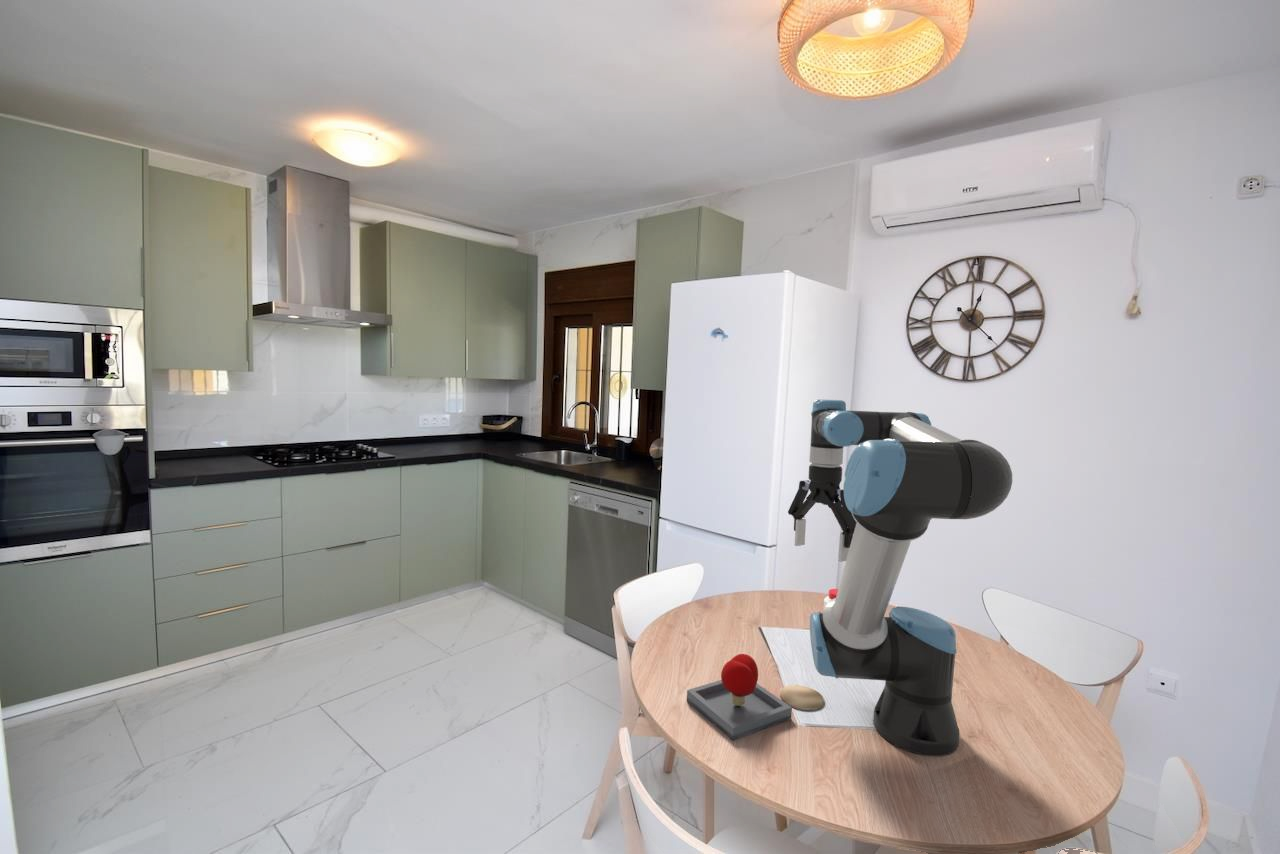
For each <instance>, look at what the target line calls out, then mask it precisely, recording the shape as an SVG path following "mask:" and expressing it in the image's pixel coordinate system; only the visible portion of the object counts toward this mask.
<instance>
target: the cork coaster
mask: <svg viewBox="0 0 1280 854" xmlns="http://www.w3.org/2000/svg"><path fill="white" fill-rule="evenodd" d="M779 697H780V698H779V699H780V700H782V701H783V702H785V703H786V704H788V705H789V706H791V707H792V708H793V709H797V710H801V711H816V710H819V709H821V708H822V707H823V706H824V701H825V700H824V697H823V695H822V694H821V693H820V692H819V691H817V690H816V689H813V688H811V687H809V686H805V685H799V684H792V685H787V686H784V687H782V688H781V689H780V691H779Z"/></svg>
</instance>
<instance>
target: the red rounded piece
mask: <svg viewBox="0 0 1280 854" xmlns="http://www.w3.org/2000/svg"><path fill="white" fill-rule="evenodd" d="M758 669H759V668H758V664H757V663H756V661H755V659H754V658H753V657H752V656H751V655H749V654H746V653H739V654H736V655H735V656H733V657H732V658H731V659H730V660H728V661H727V662H726V663H725V664H724V666H723V667H722V669H721V673H720V674H721V675H720V678H721V679H720V680H722V683H723V685H724V687H725V688H726V689H727V690H728V691H729V692H731V693H732V703H733V704H734V705H736V706H737V707H740V706H742V705H744V703H745V696H747V695H750V694H752V693H753V691H754V689H755V687H756V684H758V680H759V679H758V678H759V670H758Z"/></svg>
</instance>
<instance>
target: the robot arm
mask: <svg viewBox="0 0 1280 854" xmlns="http://www.w3.org/2000/svg"><path fill="white" fill-rule="evenodd" d="M846 404H847V403H846V401H844V400H840V399H816V400H814V401H813V402H812V411H811V412H810V413H811V425H810V426H811V428H810V429H811V430H810V431H811V432H810V447H809V463H811V464H810V465H808V479H809V480H808V479H806V480H805V479H804V480H799V482H798V489H797V491H796V494H795V495H794V498H793V500H792V503H791V504H790V506H789V507H788V508H789V509H788V510H787V514H788V515H789V516H792V517H793V531H794V546H796V547H798V546H804V545H805V543H806V542H805V541H806V527H807V525H806V523H807V519H806V515H807V514H808V512H809V511H810V510H811V509H812V508H813V507H814V506H815V504H816V503H817V504H821V505H823V506H828V508H829V509H830V510H831V511H832V513H833V515H834V517H835V519H836V521H837V523H838V525H839V526H840V528H841V530H842V532H840V533H839V546H838V547H839V548H838V562H845V564H844V568H843V571H842V575H841V578H840V581H839V586H838V588H837V589H838V592H837V596H836V598H834V599H832V600H831V601H829V602H828V603H827V605H826V606H825V608H824V611H822V612H821V611H816V612H812V613H810V615H809V636H810V646H811V654H812V660H813V664H814V668H815V671H817V673H818V674H819V675H821V676H824V677H831V678H835V679H852V680H856V679H858V680H871V681H872V680H873V681H885V683H884V687H883V689H882V691H881V694H880V696H879V697H878V700H877V702H876V704H875V706H874V709H873V719H872V721H873V723H872V724H873V726H874V728H875V730H876V731H877V732H878V734H879V735H880V736H881V737H882V738H883V739H885V740H886V741H888V742H890V743H891V744H892V745H895V746H897V747H899V748H901V749H903V750H905V751H908V752H912V753H914V754H920V755H923V756H933V757H938V756H939V757H940V756H946V755H950V754H952V753H954V752H956V751H957V749H958V748H959V746H960V729H959V726H958V721H957V718H956V714H955V710H954V706H953V703H952V698H953V686H954V685H953V684H954V677H955V676H954V673H955V663H956V653H957V648H956V647H957V643H956V637H957V635H956V632H955V630H954V628H953V626H952V625H950V623H948V621H946V620H945V619H943V618H941V617H940V616H938V615H935V614H933V613H931V612H927V611H924V610H922V609H917V608H915V607H909V606H908V607H907V606H896V607H892V608H891V609H890V611H889V612H888V616H885V615H886V612H887V609H888V606H889V604H890V601H891V598H892V596H893V593H894V590H895V587H896V585H897V582H898V578H899V576H900V572H901V571H902V567H903V564H904V561H905V559H906V556H907V554H908V551H909V548H910V545H911V542H912V541H914V540H917V539H919V538H921V537H922V536H923V535H924V534H925V533H926V531H927V529H928V527H929V525H930V521H931V520H932V519H935V520H937V519H940V520H942V519H943V520H971V519H976V518H980V517H982V516H983V517H984V516H986V515H987V514H989V513H991V512H994V511H995V510H997V508H998V507H1000V506H1001V505H1002V504H1003V502H1004V501H1005V500H1006V499H1007V498H1008V496H1009V494H1010V493H1011V489H1012V485H1013V472H1012V468H1011V465H1010V463H1009V461H1008V460H1007V459H1006V457H1005V456H1004V455H1003V454H1002V453H1001V452H1000V451H999V450H998V449H996V448H995V447H992V446H991V445H988V444H986V443H984V442H982V441H979V440H975V439H961V438H958V437H957V436H954V435H952V434H950V433H948V432H946V431H943V430H942V429H939V428H937V427H935V426H933V425H932V422H931V420H930V418H929V416H928V415H927V414H924V413H920V412H918V413H917V412H912V411H907V412H905V411H904V412H902V411H901V412H900V411H898V412H895V411H894V412H893V411H890V412H889V411H869V410H847V405H846ZM850 446H851V447H852V446H856V447H855V448H854V449H853V451H852V453H851V454H850V456H849V459H848V461H847V465H846V467H845V471H844V477H845V478H844V479H845V480H844V481H843V482H844V483H843V489H841V487H840V484H841V482H842V480H843V479H842V478H843V467H842V466H841V465H842V464H843V459H844V447H845V448H846V447H850ZM809 491H810V492H809ZM808 493H809V494H808Z"/></svg>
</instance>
